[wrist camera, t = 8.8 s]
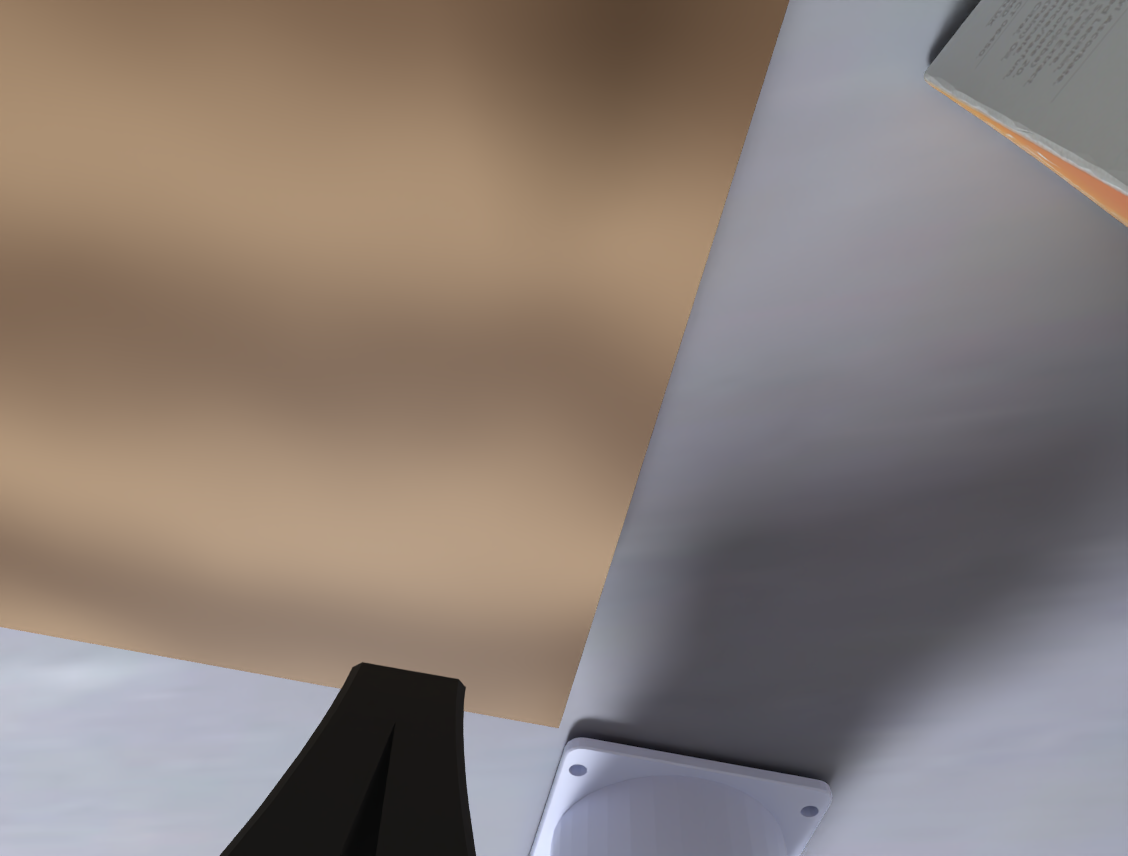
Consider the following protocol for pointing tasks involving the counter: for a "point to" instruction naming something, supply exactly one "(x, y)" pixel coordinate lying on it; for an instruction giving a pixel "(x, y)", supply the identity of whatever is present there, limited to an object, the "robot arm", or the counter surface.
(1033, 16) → the small box
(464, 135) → the brown flat block
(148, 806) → the counter surface
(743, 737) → the counter surface
